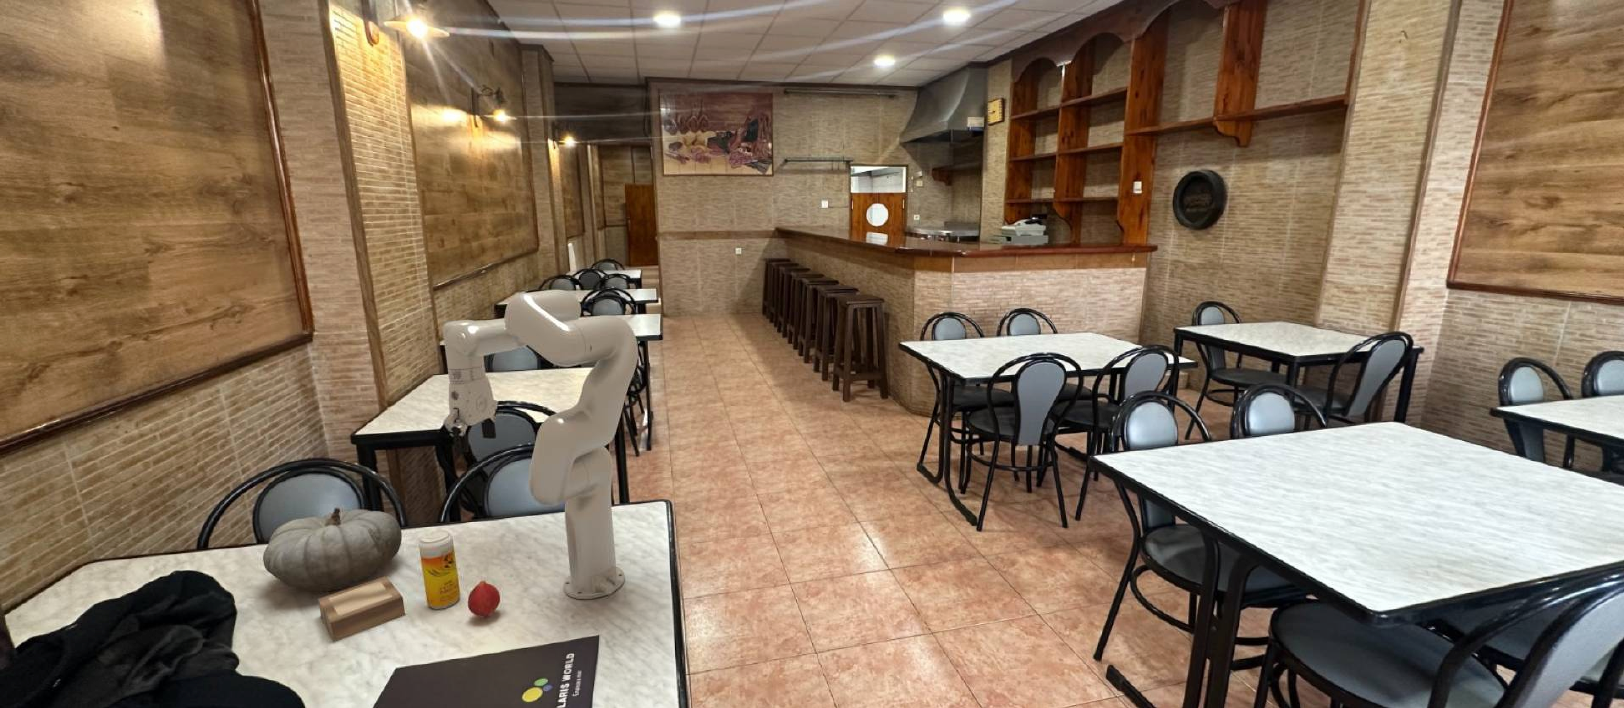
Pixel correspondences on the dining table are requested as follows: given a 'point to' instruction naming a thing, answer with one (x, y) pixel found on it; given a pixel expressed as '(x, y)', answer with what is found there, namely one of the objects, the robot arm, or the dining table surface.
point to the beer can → (439, 569)
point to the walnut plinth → (361, 607)
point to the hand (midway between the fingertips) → (476, 444)
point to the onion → (483, 599)
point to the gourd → (332, 549)
